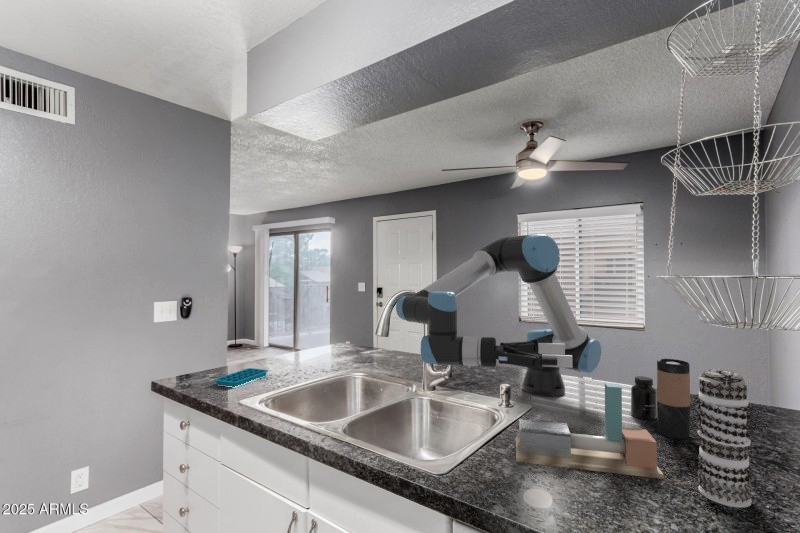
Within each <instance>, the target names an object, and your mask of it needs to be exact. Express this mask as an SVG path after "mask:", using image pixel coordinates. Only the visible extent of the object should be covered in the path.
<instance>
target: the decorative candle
mask: <svg viewBox="0 0 800 533" xmlns="http://www.w3.org/2000/svg"><path fill="white" fill-rule="evenodd" d="M697 378H698V379H699V390H698V393H697V394H696V395H695V396H694V400H695V403H696V406H695V408H694V409H695V411H696V413H695V417H696V420H698V421H697V423H696V427H697V434H698V436H700V439H699V443H700V445H699V448H698V449H699V450H698V451H699V454H698V455H697V460H698V461H699V462H697V465H698V466H697V467H698V468H699V469H698V470H697V476H698V478H697V482H698V483H697V484H698V487H697V489H698V491H699V493H700V494H701V495H702V496H703V497H705V498H707V499H708V500H710V501H712V502H715V503H716V504H717V503H718V504H720V505H723V506H727V507H732V508H736V509H737V508H742V509H743V508H749V507H750V506H752V498H751V497H752V496H753V494H752V490H751V489H752V488H753V487H752V483H751V479H752V475H751V471H752V468H751V465H750V457H749V455H748V454H749V453H748V452H749V450H748V449H749V447H748V446H751V443H752V441H751V439H749V438H750V437H752V436H753V434H752V432H751V431H749V430H752V428H753V425H752V424H751V423H749V422H748V420H751V419H752V418H754V415H753V414H751V413H750V412H752V411H753V410H754V407H753V406H751V405H750V404H749V397H748V388H747V386H748V385H749V382H748V381H747V380H745V379H744V377H743V376H742V375H740V374H739V373H738V372H735V371H730V370H726V369H716V368H715V369H713V368H710V369H706V370H704V371H703V372H702V373H701V374H699V375H698V376H697Z"/></svg>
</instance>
